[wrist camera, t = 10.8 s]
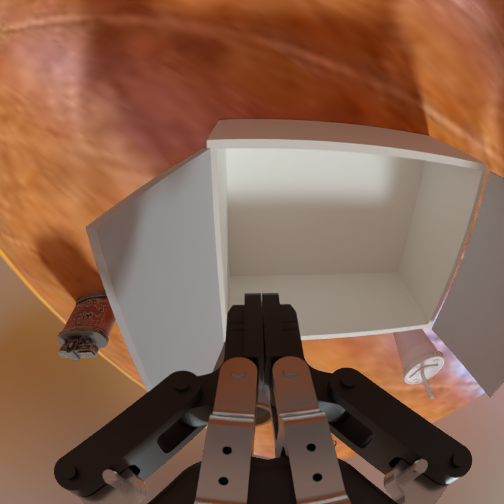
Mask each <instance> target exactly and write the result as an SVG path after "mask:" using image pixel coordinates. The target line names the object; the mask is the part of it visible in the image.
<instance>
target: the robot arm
mask: <svg viewBox="0 0 504 504" xmlns="http://www.w3.org/2000/svg"><path fill="white" fill-rule="evenodd" d="M263 378H264V390H269V393H270V402H269V407H270V414H271V421H272V428H273V435H274V442H275V458H274V459H270V460H266V459H261V458H256V457H253V452H254V436H255V422H256V408H257V404H258V395H259V390H262V388H263ZM207 424H208V426H207ZM206 426H207V432H206V438H205V444H204V450H203V457H202V461H201V462H198V463H196V464H193V465H192V466H190V467H188V468H187V469H186V470H184V471H183V472H182V473H181V474H180V475H179V476H178V477H176V478H175V479H174V480H173V481H172V482H171V483H170V484H169V485H168V486H167V487H166V488H165V489H164V490H163V491H162V492H160V493H159V494H158V495H157V496H156V497H155V498H154V499H153V500H151V501H150V502H149V503H148V504H435V503H436V502H437V500H438V499H439V498H440V496H441V495H442V493H443V492H444V490H445V489H446V487H447V486H448V485H449V484H450V483H452V482H454V481H455V480H457V479H459V478H460V477H462V476H464V475H465V474H466V473H467V472H468V471H469V469H470V468H471V465H472V456H471V453H470V451H469V450H468V449H467V448H466V447H465V446H463V445H462V444H460V443H459V442H458V441H456V440H455V439H453V438H452V437H450V436H449V435H447V434H446V433H444V432H443V431H441V430H440V429H438V428H437V427H436V426H434V425H433V424H431V423H430V422H428V421H427V420H426V419H424V418H423V417H421V416H420V415H418V414H417V413H416V412H414V411H413V410H411V409H410V408H408V407H407V406H406V405H404V404H403V403H401V402H400V401H399V400H397V399H396V398H394V397H393V396H392V395H390V394H389V393H387V392H386V391H385V390H383V389H382V388H380V387H379V386H378V385H376V384H375V383H374V382H372V381H371V380H369V379H368V378H367V377H365V376H364V375H363V374H361V373H360V372H358V371H357V370H355V369H352V368H341V369H338V370H336V371H335V372H334V373H333V374H332V373H327V372H322V371H318V370H316V369H314V368H312V367H311V366H309V365H308V364H307V362H306V361H305V359H304V355H303V348H302V342H301V336H300V330H299V325H298V319H297V313H296V311H295V310H294V308H293V307H292V306H291V304H280V301H279V294H278V293H262V307H261V293H245V297H244V305H232V307H231V308H230V310H229V311H228V313H227V325H226V340H225V354H224V361H223V363H222V365H221V366H220V367H219V368H218V369H217V370H216V371H214V372H212V373H209V374H205V375H201V376H196V375H195V374H194V373H192V372H190V371H184V370H183V371H176V372H174V373H172V374H170V375H169V376H168V377H166V378H165V379H164V380H163V381H161V382H160V383H159V384H158V385H156V386H155V387H154V388H153V389H151V390H150V391H149V392H148V393H146V394H145V395H144V396H143V397H141V398H140V399H139V400H137V401H136V402H135V403H134V404H133V405H131V406H130V407H128V408H127V409H126V410H125V411H123V412H122V413H121V414H119V415H118V416H117V417H116V418H114V419H113V420H112V421H110V422H109V423H108V424H106V425H105V426H104V427H102V428H101V429H100V430H98V431H97V432H96V433H94V434H93V435H92V436H90V437H89V438H88V439H86V440H85V441H84V442H82V443H81V444H80V445H78V446H77V447H75V448H74V449H73V450H71V451H70V452H69V453H67V454H66V455H64V456H63V457H61V458H60V459H59V460H58V461H57V463H56V465H55V468H54V475H55V478H56V480H57V482H58V483H59V484H60V485H61V486H62V487H63V488H65V489H67V490H69V491H71V492H72V493H73V494H75V495H77V496H78V497H80V498H81V500H82V501H83V502H84V504H140V503H141V502H142V500H143V499H144V498H145V496H146V485H145V483H144V482H143V481H144V480H145V479H147V478H148V477H149V476H150V475H152V474H153V473H154V472H155V471H156V470H158V469H159V468H160V467H161V466H162V465H163V464H165V463H166V461H168V460H169V459H170V458H172V457H173V456H174V455H175V454H176V453H177V452H178V451H179V450H181V449H182V448H183V447H184V446H185V445H186V444H187V443H188V442H190V440H192V439H193V438H194V437H195V436H196V435H197V434H198V433H199V432H200V431H201V430H202V429H204V428H205V427H206ZM331 433H332V434H334V435H335V436H336V437H337V438H339V439H340V440H341V441H342V442H343V443H345V444H346V445H347V446H348V447H350V448H351V449H352V450H353V451H355V452H356V453H357V454H358V455H360V456H361V457H363V458H364V459H365V460H366V461H367V462H369V463H370V464H371V465H373V466H374V467H375V468H377V469H378V470H379V471H381V472H382V473H384V474H385V477H384V487H385V489H386V491H387V492H388V493H389V494H390V495H391V496H392V499H391V498H390V497H389V496H388V495H386V494H385V493H384V492H383V491H381V490H380V489H379V488H378V487H376V486H375V485H374V484H373V483H371V482H370V481H369V480H368V479H366V478H365V477H364V476H363V475H362V474H361V473H359V472H358V471H357V470H356V469H355V468H354V467H352V466H351V465H350V464H348V463H347V462H345V461H343V460H341V459H338V458H337V455H336V451H335V447H334V444H333V440H332V436H331Z"/></svg>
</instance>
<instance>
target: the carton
mask: <svg viewBox="0 0 504 504" xmlns="http://www.w3.org/2000/svg"><path fill="white" fill-rule="evenodd" d="M206 141H207V148H211V171H212V191H213V208H214V225H215V240H216V255H217V268H218V281H219V293H220V305H221V317H222V327H223V338H224V342H225V340H226V325H227V313H228V311H229V310H230V308H231V307H232V305H244V297H245V293H261V307H262V293H278V294H279V301H280V304H291V306H292V307H293V308H294V310H295V311H296V313H297V319H298V325H299V330H300V336H301V340H313V339H328V338H342V337H354V336H364V335H374V334H384V333H392V332H401V331H408V330H416V329H423V328H430V327H431V325H432V323H433V321H434V319H435V317H436V315H437V313H438V310H439V308H440V306H441V304H442V302H443V300H444V297H445V295H446V293H447V291H448V288H449V286H450V284H451V281H452V279H453V276H454V274H455V272H456V269H457V266H458V264H459V261H460V259H461V256H462V253H463V251H464V248H465V245H466V242H467V239H468V236H469V233H470V230H471V227H472V224H473V221H474V217H475V214H476V211H477V207H478V204H479V200H480V196H481V192H482V188H483V184H484V180H485V176H486V172H487V167H488V165H487V164H485V163H483V162H482V161H480V160H478V159H476V158H474V157H472V156H470V155H469V154H467V153H465V152H463V151H461V150H459V149H457V148H455V147H453V146H451V145H448V144H446V143H444V142H442V141H440V140H438V139H436V138H433V137H431V136H428V135H423V134H418V133H412V132H406V131H400V130H394V129H387V128H380V127H372V126H364V125H356V124H346V123H335V122H323V121H307V120H286V119H219V121H218V122H217V124H216V126H215V127H214V129H213V130H212V132H211V134H210V135H209V137H208V138H207V140H206Z"/></svg>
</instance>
